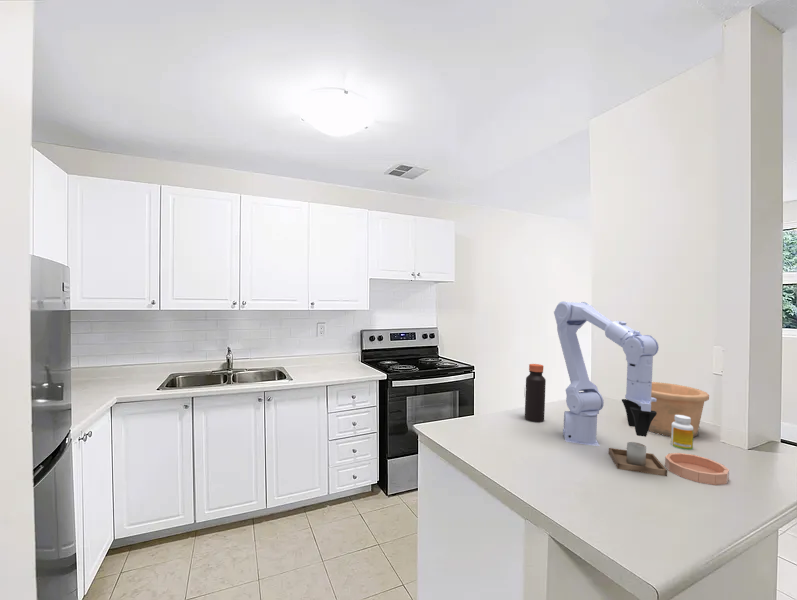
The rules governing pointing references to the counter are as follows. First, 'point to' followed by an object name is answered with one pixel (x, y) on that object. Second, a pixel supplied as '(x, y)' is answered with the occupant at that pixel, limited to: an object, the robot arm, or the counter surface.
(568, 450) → the counter surface
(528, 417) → the vinegar
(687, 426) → the supplement bottle
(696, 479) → the bowl
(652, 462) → the tray
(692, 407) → the pottery
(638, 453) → the stone
